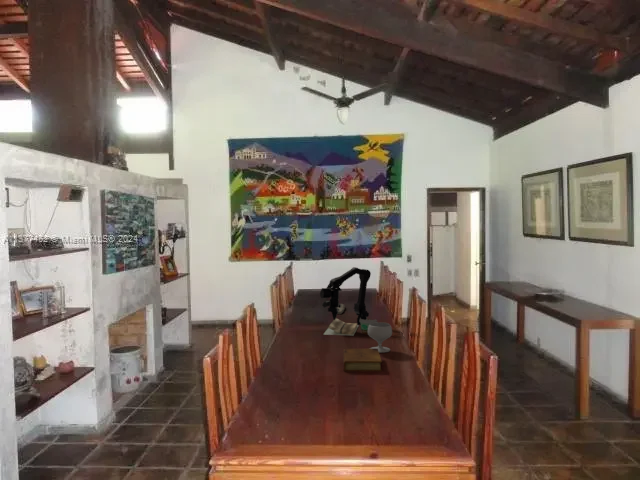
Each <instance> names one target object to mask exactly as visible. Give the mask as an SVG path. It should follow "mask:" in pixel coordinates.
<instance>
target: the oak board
mask: <svg viewBox="0 0 640 480" xmlns="http://www.w3.org/2000/svg"><path fill="white" fill-rule="evenodd" d="M357 325H358V324H357V322H356V323H353V322H352V323H351V322H345V326H344V328H343V329H342V331H341V334H353V333H354V331H355V329H356V327H357Z"/></svg>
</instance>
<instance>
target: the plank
mask: <svg viewBox="0 0 640 480" xmlns="http://www.w3.org/2000/svg"><path fill="white" fill-rule="evenodd" d="M344 325H346V322H344V321H343V320H340V319H339V318H337V317H336V319H335V320H334V319H333V320H332V321H331V323H330V324H329V326H328V328H329V329H331V330H333V331H335V332H337V333H340V332H341V330H342V329H343V327H344Z"/></svg>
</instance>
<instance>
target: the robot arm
mask: <svg viewBox="0 0 640 480" xmlns="http://www.w3.org/2000/svg"><path fill="white" fill-rule="evenodd" d="M371 273H372V272H371V271H370V270H369V269H365V268H362V269H361V268H358V267H354V266H353V267H351V269H349V270H347V271H345V273H342V275H340V276H337V277H334V278H331V280H329V282H328V283H329V284H328V285H327V286H326V287H325V288H323V287H321V290H320V292H319V297H320V298H321V299H328V298H329V300H328V301H327V300H326V301H323V302H322V307H323V308H327V307H328V308H327V312H331V314H332V319H333V320H335V319H336V318H337V316H338V315H337V314H338V312H339V309H338V308H337V307H339V308H341V304H342V303H340V292H342V291H343V290H342V288H341V286H342V285H343V284H344V282H345V281H348V279H350V278H352V277H353V276H355V275H358V278H359V281H360V282H359V289H358V296H357V297H358V298H357V302H356V303H354V305H353V309H354V313H355V314H356V316H357V318H356V323H357V325H359V326H361V323H360V322H359V320H360V318H361V319H368V318H369V316H370V313H369V312H368V311H367V310H366V309H367V307H366V303H365V300H366V293H367V286H368V285H367V284H368V282H369V280H370V279H371V275H372V274H371Z"/></svg>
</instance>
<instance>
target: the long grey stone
mask: <svg viewBox="0 0 640 480" xmlns="http://www.w3.org/2000/svg"><path fill="white" fill-rule="evenodd" d="M340 304H341V308H339V307H337V308H338V309H339V312H338V314H339V315H342V313H344V311H345V308H346V306H345V304H343V303H340Z"/></svg>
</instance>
